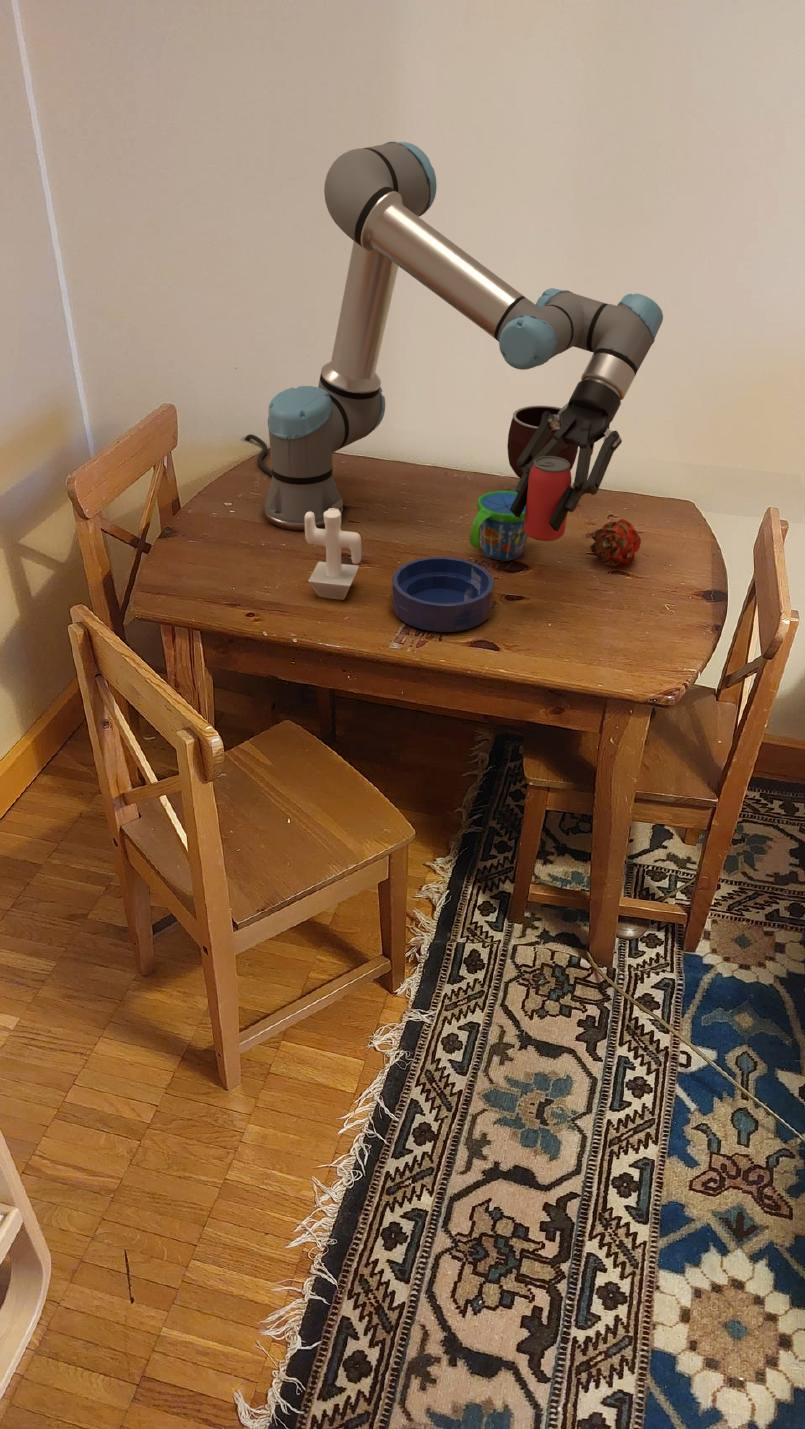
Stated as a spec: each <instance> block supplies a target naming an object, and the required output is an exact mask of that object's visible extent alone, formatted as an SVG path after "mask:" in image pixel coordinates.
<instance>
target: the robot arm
mask: <svg viewBox="0 0 805 1429" xmlns="http://www.w3.org/2000/svg"><path fill="white" fill-rule="evenodd" d="M437 184H438V183H437V176H436V171H435V169H434V167H433V165H432V163H431V161H430V158H429V157H428V155H427V154H426V153H425V152H424V151H423V149H421V148H420V147H419V146H417V145H415V144H414V143H411V142H407V141H400V142H399V141H388V142H385V143H383V144H378V145H373V146H367V147H361V148H354V149H350V150H348V151H346V152H344V153H342V154H341V155H339V156H337V158H336V159H335V160H334V161H333V162H332V164H331V166H330V167H329V169H328V171H327V173H326V176H325V179H324V188H323V193H324V194H323V195H324V202H325V206H326V208H327V211H328V214H329V216H330V217H331V219H332V220H333V222H334V223H335V225H336V226H337V227H338V228H339V229H340V230H341V231H342V232H343V233H344V234H345V235H346V236H347V237H348V238H350V239H351V240H352V241H353V243H352V248H351V252H350V259H349V264H348V269H347V275H346V278H345V279H346V280H345V285H344V290H343V296H342V302H341V307H340V311H339V318H338V323H337V327H336V333H335V339H334V344H333V349H332V353H331V360H330V361H329V362H327V363H325V364H324V365H323V366H322V368H321V369H320V370H321V371H320V376H319V380H318V386H313V385H300V386H297V387H289V388H287V389H284V390H281V391H280V392H279V393H277V394H275V396H274V397H272V398H271V400H270V402H269V405H268V417H267V427H268V438H269V452H270V468H271V469H270V468H269V467H267V466H266V465H265V464H264V462H263V460H264V459H265V458H264V457H265V456H266V454H267V453H268V446H267V443H265V441H263V440H262V439H261V438H260V437H259V436H257V435H255V434H250V433H249V434H246V436H245V438H244V441H246V442H247V441H250V440H253V441H255V442H257V443H258V445H259V446H261V448H262V451H261V452H260V454H259V455H258V457H257V465H258V467H259V468H260V469H261V470H262V471H263V472H264V473H266V474H267V475H269V476H271V480H270V484H269V487H268V490H267V493H266V498H265V501H264V517H265V519H266V521H268V522H269V523H270V524H272V525H273V526H276V527H278V528H280V529H285V530H290V531H301V532H302V531H304V532H305V520H304V518H305V514H306V513H307V512H313V513H314V515H315V525H316V527H317V528H318V529H325V523H324V512H325V511H328V509H330V508H335V509H338V510H339V511H340V513H341V518H343V515H344V506H343V504H344V503H343V498H342V497H341V495H340V492H339V489H338V486H337V484H336V480H335V479H334V472H333V470H334V469H333V454H334V453H335V452H337V451H339V450H341V449H343V448H345V447H347V446H349V445H351V444H353V443H355V442H357V441H359V440H362V439H364V438H366V437H367V436H369V435H370V434H371V433H372V432H374V431H375V430H376V429H377V428H378V427H379V426H380V424H381V423H382V421H383V419H384V416H385V413H386V398H385V395H383V394H382V392H383V389H382V387H381V384H382V380H381V377H380V376H379V374H378V373H377V372H376V370H377V365H378V361H379V357H380V353H381V347H382V344H383V338H384V334H385V330H386V325H387V320H388V317H389V311H390V306H391V302H392V298H393V294H394V289H395V284H396V280H397V275H398V270H399V268H400V269H402V270H403V271H405V272H406V273H407V274H408V275H410V276H411V277H413V278H414V279H415V280H416V281H417V282H419V283H420V284H422V286H424V287H426V288H427V289H428V290H430V291H431V292H432V293H434V294H435V295H436V296H438V297H439V298H440V299H442V300H443V301H444V302H446V303H447V304H448V305H450V306H451V307H452V308H453V309H455V310H456V311H458V312H459V314H461V315H463V316H464V317H465V318H467V319H469V321H471V322H472V323H473V324H475V325H476V326H477V327H479V328H480V329H481V330H483V331H484V332H486V333H487V334H488V335H490V336H491V337H492V338H493V339H495V340H496V341H497V342H498V346H499V351H500V353H501V356H502V357H503V359H504V361H505V362H506V364H507V365H509V366H510V367H512V368H514V369H516V370H521V371H523V370H525V371H526V370H530V369H534V368H537V367H540V366H542V365H544V364H546V363H548V362H549V361H550V360H551V359H552V358H554V357H556V356H557V355H559V354H562V353H564V352H566V351H567V350H570V349H571V348H577V349H580V350H583V351H587V352H590V353H593V354H592V355H591V357H590V360H589V361H588V363H587V365H586V367H585V369H584V370H583V373H582V374H581V376H580V381H578V383H577V384H576V386H575V388H574V390H573V392H572V394H571V396H570V398H569V400H568V402H567V403H568V406H567V408H566V409H565V410H564V411H563V412H561V414H550V412H549V411H545V412H544V413H543V415H542V419H541V423H540V425H539V427H538V428H537V430H536V432H535V433H534V435H533V436H532V438H531V440H530V441H529V443H528V444H527V446H526V448H525V449H524V451H523V452H522V454H521V456H520V457H519V459H518V460H517V465H518V466H519V468H520V469H521V470H522V472H523V475H522V477H521V479H520V478H519V481H518V483H517V484H516V486H517V487H516V491H517V493H518V494H517V496H516V498H515V500H514V502H513V504H512V506H511V508H510V510H511V512H512V513H513V514H514V515H515V517H518V518H519V517H520V515H521V514H522V512H523V510H524V508H525V506H526V500H527V491H528V481H529V474H530V471H531V469H532V467H533V465H534V461H535V459H537V458H539V457H543V456H556V455H557V454H558V453H559V452H560V451H561V450H562V449H565V448H566V447H567V446H568V445H569V444H570V445H577V446H578V448H579V449H578V457H577V462H576V469H575V475H574V480H573V482H571V485H572V486H571V487H570V486H568V487H567V489H566V491H565V492H564V494H563V496H562V498H561V500H560V502H559V504H558V506H557V508H556V510H555V512H554V514H553V516H552V517H551V519H550V521H549V524H550V526H551V527H552V528H553V530H555V531H558V530H559V528H560V527H561V525H562V523H563V521H564V519H565V517H566V515H567V516H568V513H573V512H574V511H575V510H576V508H577V506H578V505H579V502H580V501H581V499H582V497H583V496H584V495H586V494H587V495H589V494H590V495H593V496H594V495H596V494H597V493H598V491H599V489H600V486H601V484H602V482H603V479H604V476H605V474H606V473H607V469H608V467H609V465H610V463H611V460H612V457H613V455H614V452H615V451H616V450H617V449H618V448H619V446H621V444H622V442H623V440H622V438H621V436H620V433H619V431H618V430H611V428H610V425H611V423H613V420H614V418H615V417H616V415H617V413H618V411H619V409H620V406H621V405H622V403H621V402H622V401H623V400H624V399H625V397H626V395H627V394H628V391H629V389H630V388H631V385H632V383H633V381H634V380H635V378H636V376H637V373H638V371H639V370H640V367H641V366H642V364H643V362H644V360H645V359H646V356H647V354H648V353H649V351H650V349H651V347H652V345H654V343H655V341H656V337H657V335H658V332H659V331H660V329H661V328H660V327H661V325H662V324H663V321H664V313H663V310H662V308H661V306H659V304H658V303H657V302H655V300H654V299H651V297H648V296H646V295H644V294H641V293H627V294H625V295H624V296H623V297H622V298H621V299H620V301H618V304H616V305H615V304H612V303H606V302H603V301H600V300H597V299H593V298H590V297H586V296H584V295H580V294H577V293H575V292H572V291H570V290H568V289H567V290H566V289H565V290H563V289H558V288H553V287H552V288H547V289H546V290H544V291H543V292H542V294H541V295H540V296H539V298H538V299H537V301H536V302H535V303H534V302H533V301H531V300H530V299H528V298H527V297H526V296H524V295H523V294H522V293H520V291H518V290H517V289H516V288H514V287H513V286H512V285H511V284H509V283H508V282H506V281H505V280H503V278H501V277H499V276H498V275H496V274H495V273H494V272H492V271H491V270H490V269H489V268H487V267H486V266H484V265H483V263H481V262H479V261H478V260H477V259H475V258H474V257H472V256H471V255H470V254H468V253H467V252H466V251H465V250H463V249H462V248H461V247H460V246H458V245H457V244H455V243H454V242H453V241H452V240H450V239H449V238H447V237H446V236H445V235H443V234H442V233H441V232H440V231H438V230H437V229H435V228H434V227H433V226H432V225H430V224H429V223H428V222H426V221H425V220H423V219H422V218H420V217H422V216H423V215H425V214H426V213H427V212H428V210H430V208H431V207H432V205H433V203H434V201H435V200H436V195H437ZM558 423H560V428H559V429H558V430H557V431H556V432H555V434H554V435H553V438H552V439H551V440H550V441H549V442H548V443H547V445H546V446H545V447H544V448H543V449H542V447H543V446H544V444H545V442H546V441H547V439H548V438H549V436H550V434H551V432H552V429H555V428H556V425H557V424H558ZM602 439H603V443H602V444H601V446H600V449H599V451H598V454H597V456H596V459H595V461H594V463H593V466H592V468H591V470H590V466H591V460H592V455H593V454H594V448H595V443H597V442H598V441H600V440H602ZM541 449H542V450H541ZM540 450H541V451H540ZM589 471H590V472H589ZM566 518H567V517H566Z"/></svg>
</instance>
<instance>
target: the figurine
mask: <svg viewBox="0 0 805 1429" xmlns="http://www.w3.org/2000/svg"><path fill="white" fill-rule="evenodd" d="M304 520H305V531H304V535H305V536H304V537H305V540H306V542H307V543H308V544H309V545H313V546H323V547H325V561H317V564H316V565H315V567H314V569H313V570H312V573H311V575H310V577H309V578H308V580H307V582H308V583H309V585H310V586H311V588H312V589H313V591H314V592H315V594H316V595H317V596H318V597H319V598H323V599H333V600H342V601H344V600H345V598H346V596H347V594H348V592H349V590H350V587H351V585H352V583H353V582H354V579H355V576H356V574H357V572H358V570H359V568H360V565H359V564H361V562H362V538H361V535H360V534H359V532H356V531H347V530H342V529H341V527H342V526H341V525H342V517H341V513H340V511H339V510H338V509H335V508H330V509H328V511H325V512H324V523H325V528H321V529H318V528H317V527H316V525H315V515H314V513H313V512H307V513H306V514H305V518H304ZM342 548H343V549H349V550H350V555H351V556H350V559H351V563H352V564H348V563H347V564H346V563H342Z"/></svg>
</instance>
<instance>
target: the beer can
mask: <svg viewBox="0 0 805 1429" xmlns="http://www.w3.org/2000/svg"><path fill="white" fill-rule="evenodd" d="M571 471H572V470H571ZM571 471H570V463H569V462H568V461H567V460H565V459H563V458H560V457H555V456H543V457H539V458H537V459H535V461H534V465H533V467H532V469H531V471H530V474H529V481H528V491H527V500H526V510H525V519H524V532H525V533H526V534H527V535H528V536H527V537H529V538H530V539H533V540H535V541H539V542H540V541H541V542H552V541H556V540H559V539H560V538H562V537H563V536H564V534H565V531H566V526H567V525H566V524H567V516H568V514H567V515H566V517H565V519H564V521H563V523H562V525H561V527H560V528H559V530H558V531H555V530H553V528H552V527H551V526H550V524H549V521H550V519H551V517H552V516H553V514H554V512H555V510H556V508H557V506H558V504H559V502H560V500H561V498H562V496H563V494H564V492H565V491H566V489H567V487H568V486H570V487H572V478H573V477H572V472H571Z"/></svg>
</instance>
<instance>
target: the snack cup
mask: <svg viewBox="0 0 805 1429" xmlns="http://www.w3.org/2000/svg"><path fill="white" fill-rule="evenodd" d="M517 494H518V493H517V492H512V491H509V490H494V491H489V492H486V493H484V494H481V495H480V496H479V497H478V499H477V501H476V504H477V511H478V512H477V513H476V515H475V516H474V519H473V521H472V524H471V528H470V531H469V537H468V538H469V539H468V540H469V543H470V545H471V546H472V547H473V548H475V549H480V548H481V549H482V552H483V553H484V555H486V557H487V558H489V559H493V560H496V561H505V562H510V561H513V560H516V559H518V558H519V557H521V556H523V553H524V550H525V547H526V542H527V540H528V537H529V536H528V535H527V534H526V533H525V532H524V519H525V510H526V506H525V508H524V510H523V512H522V514H521V515H520V517H519V518H518V517H515V515H514V514H513V513H512V512H511V510H510V508H511V506H512V504H513V502H514V500H515V498H516V496H517Z"/></svg>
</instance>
